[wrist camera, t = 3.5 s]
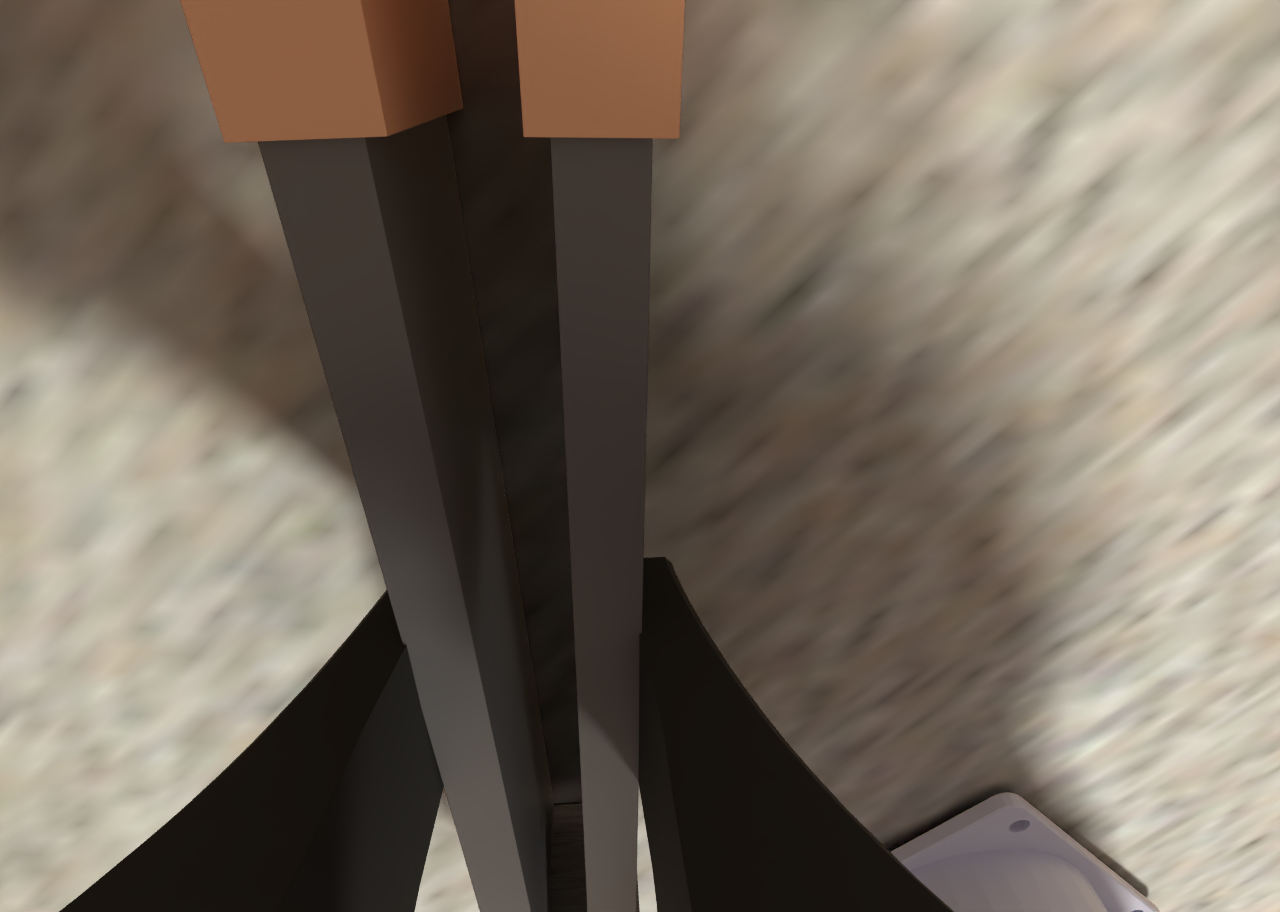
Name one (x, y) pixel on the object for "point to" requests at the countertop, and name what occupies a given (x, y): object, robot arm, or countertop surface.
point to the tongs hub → (569, 861)
